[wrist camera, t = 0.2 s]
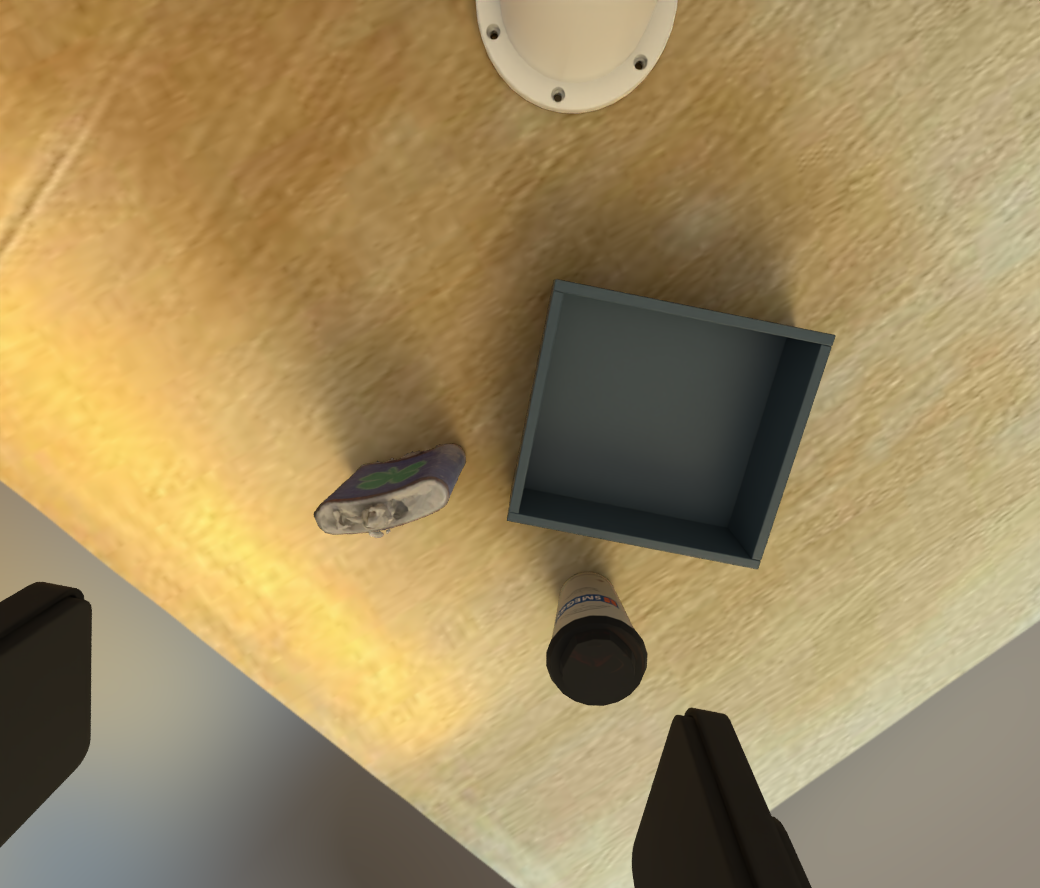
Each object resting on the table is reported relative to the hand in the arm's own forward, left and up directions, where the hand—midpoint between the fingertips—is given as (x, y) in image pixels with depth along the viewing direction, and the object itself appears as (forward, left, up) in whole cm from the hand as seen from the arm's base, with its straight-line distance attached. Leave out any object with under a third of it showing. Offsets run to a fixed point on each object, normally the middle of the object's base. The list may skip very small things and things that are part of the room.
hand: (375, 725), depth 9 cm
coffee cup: (+17, +10, -37) cm, 42 cm away
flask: (+9, -6, -37) cm, 38 cm away
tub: (+1, +11, -37) cm, 38 cm away
